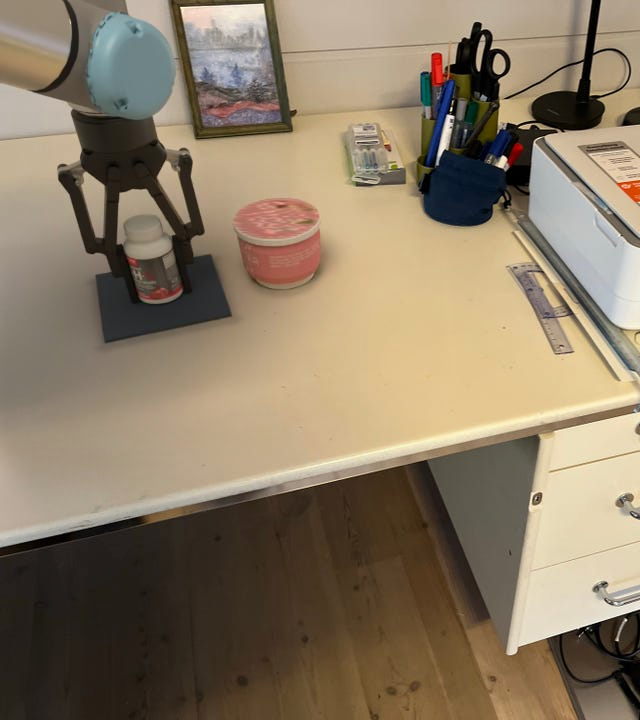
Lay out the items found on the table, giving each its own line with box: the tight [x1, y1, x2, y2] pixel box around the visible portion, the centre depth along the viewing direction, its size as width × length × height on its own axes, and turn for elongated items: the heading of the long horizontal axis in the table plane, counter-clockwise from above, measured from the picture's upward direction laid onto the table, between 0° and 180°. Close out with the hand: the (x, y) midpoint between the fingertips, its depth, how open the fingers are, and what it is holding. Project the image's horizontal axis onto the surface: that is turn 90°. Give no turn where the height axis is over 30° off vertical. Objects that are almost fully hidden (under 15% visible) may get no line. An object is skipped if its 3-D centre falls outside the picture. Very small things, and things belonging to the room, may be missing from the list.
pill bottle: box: [122, 213, 184, 304], centre depth 88 cm, size 5×5×10 cm
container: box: [232, 197, 322, 290], centre depth 94 cm, size 10×10×8 cm
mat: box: [95, 253, 233, 344], centre depth 92 cm, size 14×14×1 cm
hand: (160, 290), depth 91 cm, fingers closed on pill bottle, 5 cm apart
